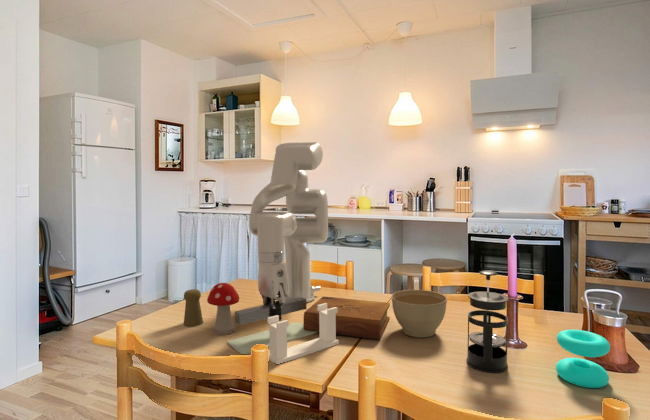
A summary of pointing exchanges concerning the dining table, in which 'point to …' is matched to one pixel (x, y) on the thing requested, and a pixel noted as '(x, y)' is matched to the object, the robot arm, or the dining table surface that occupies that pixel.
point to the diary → (351, 317)
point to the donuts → (582, 369)
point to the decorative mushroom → (223, 306)
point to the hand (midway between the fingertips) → (272, 319)
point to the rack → (327, 339)
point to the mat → (267, 338)
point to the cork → (192, 308)
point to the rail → (268, 311)
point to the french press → (487, 331)
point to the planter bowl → (419, 311)
